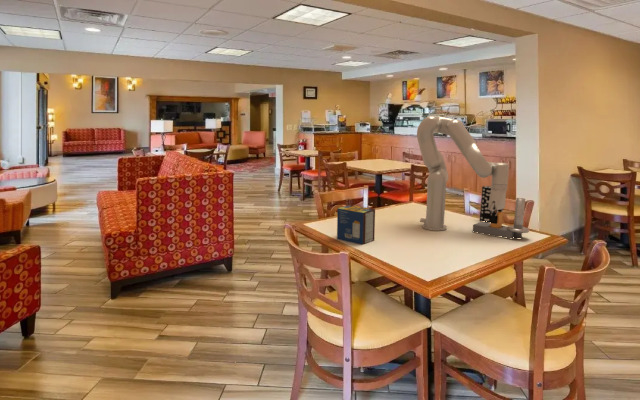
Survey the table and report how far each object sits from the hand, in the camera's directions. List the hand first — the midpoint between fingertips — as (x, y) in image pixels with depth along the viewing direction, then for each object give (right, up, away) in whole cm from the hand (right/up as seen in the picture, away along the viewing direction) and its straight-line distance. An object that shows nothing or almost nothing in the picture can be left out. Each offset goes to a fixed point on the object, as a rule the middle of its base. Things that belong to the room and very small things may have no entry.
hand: (496, 222), depth 216 cm
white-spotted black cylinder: (+7, -1, +30) cm, 31 cm away
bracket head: (0, -6, +1) cm, 6 cm away
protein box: (-73, -8, -11) cm, 74 cm away
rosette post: (+8, -8, -7) cm, 13 cm away
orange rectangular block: (0, -7, +1) cm, 7 cm away
